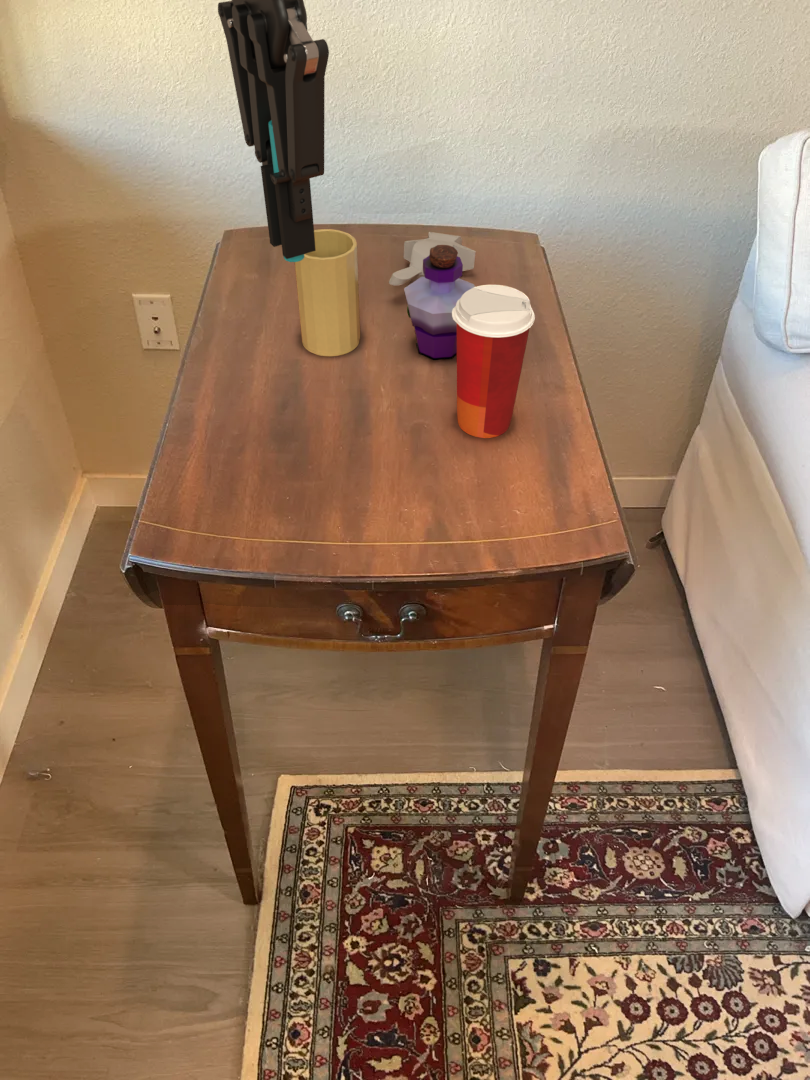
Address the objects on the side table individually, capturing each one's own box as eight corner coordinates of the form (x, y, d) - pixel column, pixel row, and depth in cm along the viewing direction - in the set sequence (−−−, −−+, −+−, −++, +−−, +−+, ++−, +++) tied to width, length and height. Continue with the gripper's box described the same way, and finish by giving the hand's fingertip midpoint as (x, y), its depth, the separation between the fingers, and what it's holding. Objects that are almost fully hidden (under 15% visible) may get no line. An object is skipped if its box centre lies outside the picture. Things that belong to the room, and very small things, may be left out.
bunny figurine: (484, 229, 109) (458, 271, 98) (480, 267, 113) (454, 312, 102) (414, 219, 111) (381, 259, 100) (413, 257, 114) (380, 300, 103)
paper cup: (520, 401, 90) (536, 283, 80) (520, 447, 85) (536, 327, 75) (448, 397, 91) (454, 279, 81) (443, 442, 86) (450, 321, 75)
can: (319, 362, 95) (311, 265, 86) (292, 335, 99) (282, 238, 90) (370, 345, 98) (368, 248, 89) (341, 318, 102) (336, 223, 93)
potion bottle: (412, 322, 101) (414, 227, 93) (482, 332, 100) (490, 237, 91) (393, 361, 95) (393, 264, 87) (467, 373, 94) (475, 275, 85)
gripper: (365, -85, 51) (375, 272, 68) (261, -122, 59) (293, 203, 76) (252, -71, 48) (292, 298, 65) (160, -112, 57) (216, 223, 74)
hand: (292, 246), depth 71 cm, fingers closed on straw, 2 cm apart
